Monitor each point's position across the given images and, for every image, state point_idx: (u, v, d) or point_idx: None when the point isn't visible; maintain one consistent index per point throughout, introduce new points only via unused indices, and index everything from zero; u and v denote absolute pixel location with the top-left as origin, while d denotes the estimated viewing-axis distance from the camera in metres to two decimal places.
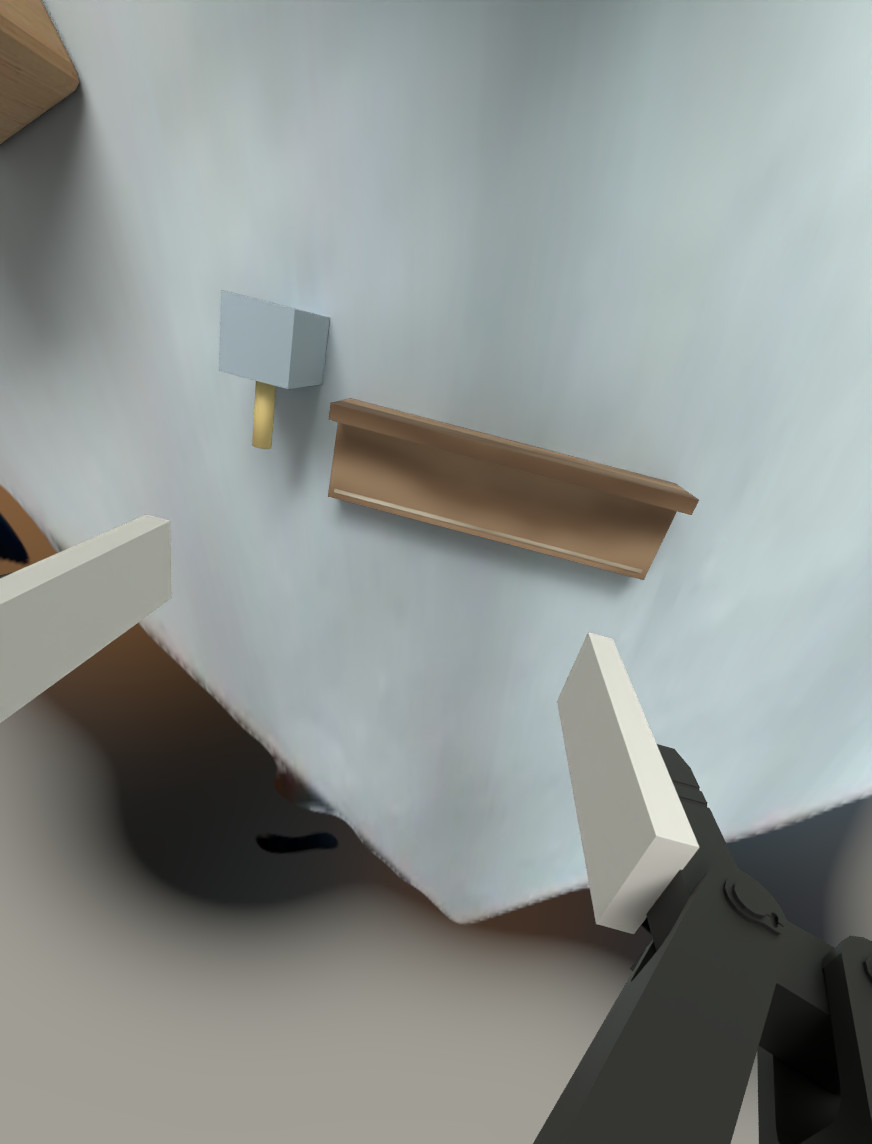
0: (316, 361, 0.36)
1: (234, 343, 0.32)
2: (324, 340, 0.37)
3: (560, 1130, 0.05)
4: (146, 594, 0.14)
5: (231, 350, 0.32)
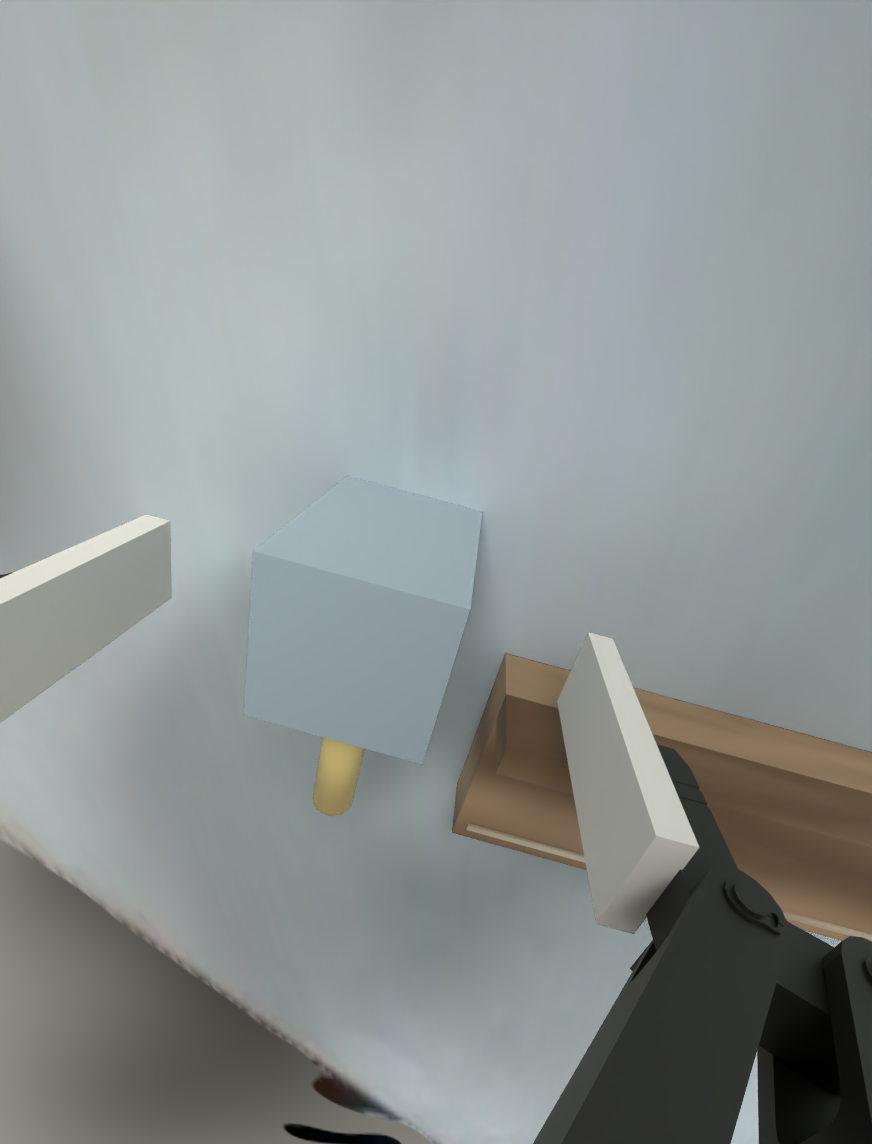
0: None
1: (286, 667, 0.12)
2: None
3: (560, 1130, 0.05)
4: (146, 594, 0.14)
5: (276, 680, 0.12)
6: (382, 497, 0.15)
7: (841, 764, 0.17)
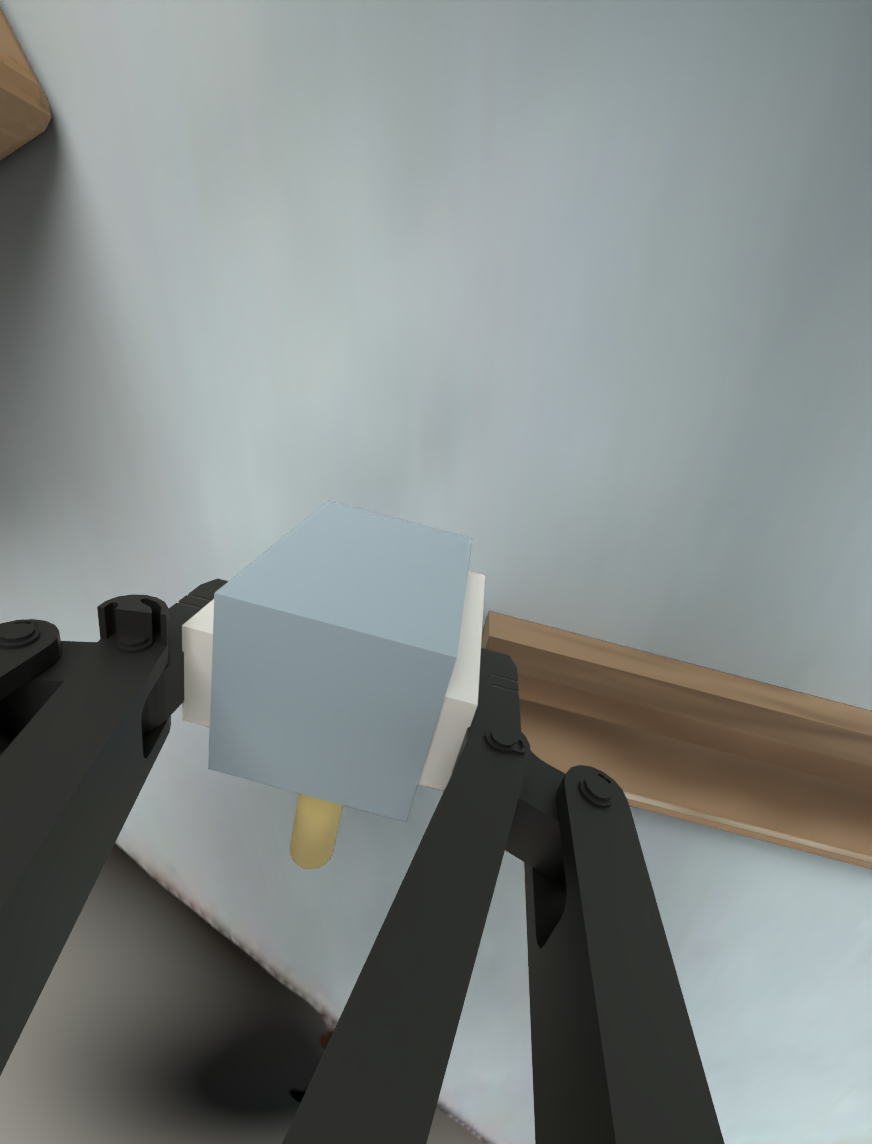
0: None
1: (254, 718, 0.11)
2: None
3: None
4: None
5: (244, 731, 0.11)
6: (365, 524, 0.14)
7: (743, 689, 0.23)
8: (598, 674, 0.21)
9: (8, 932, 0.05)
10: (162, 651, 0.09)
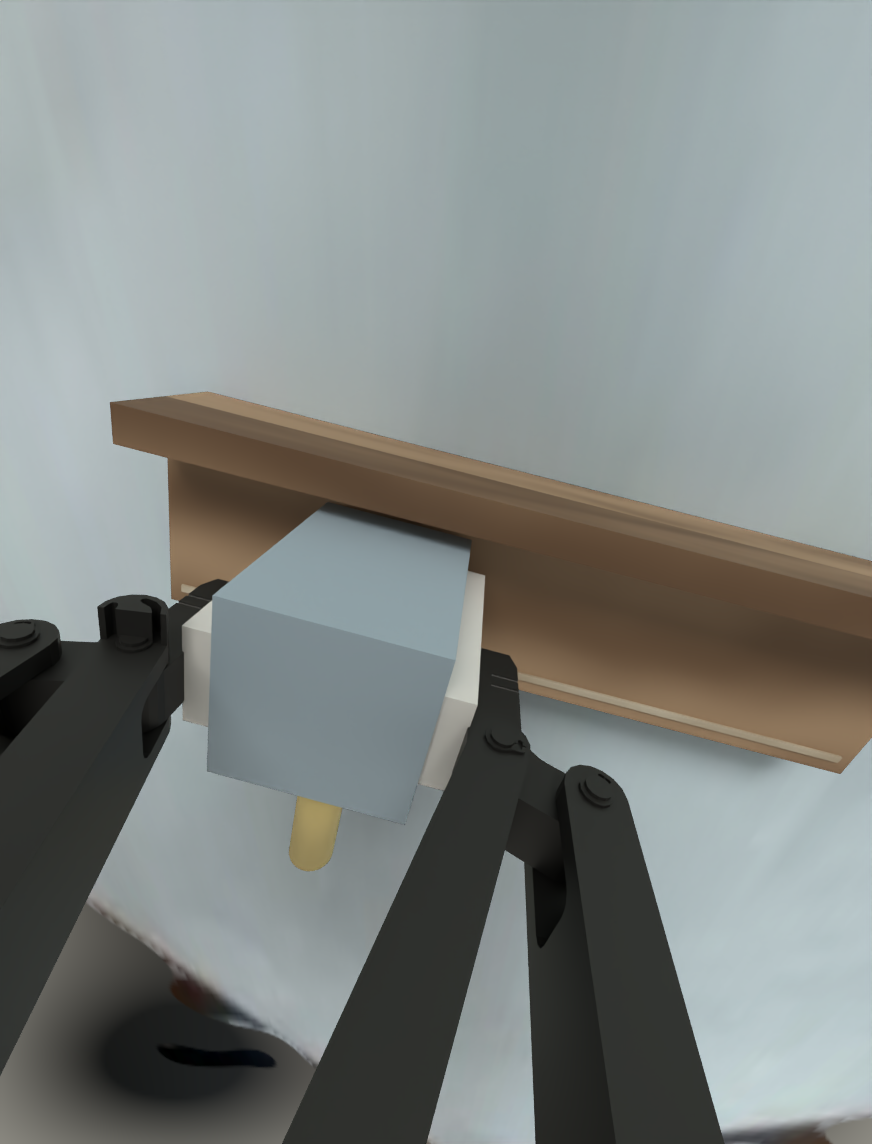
0: None
1: (253, 720, 0.10)
2: None
3: None
4: None
5: (243, 734, 0.11)
6: (364, 526, 0.14)
7: (539, 484, 0.17)
8: (302, 437, 0.15)
9: (8, 931, 0.05)
10: (162, 651, 0.09)
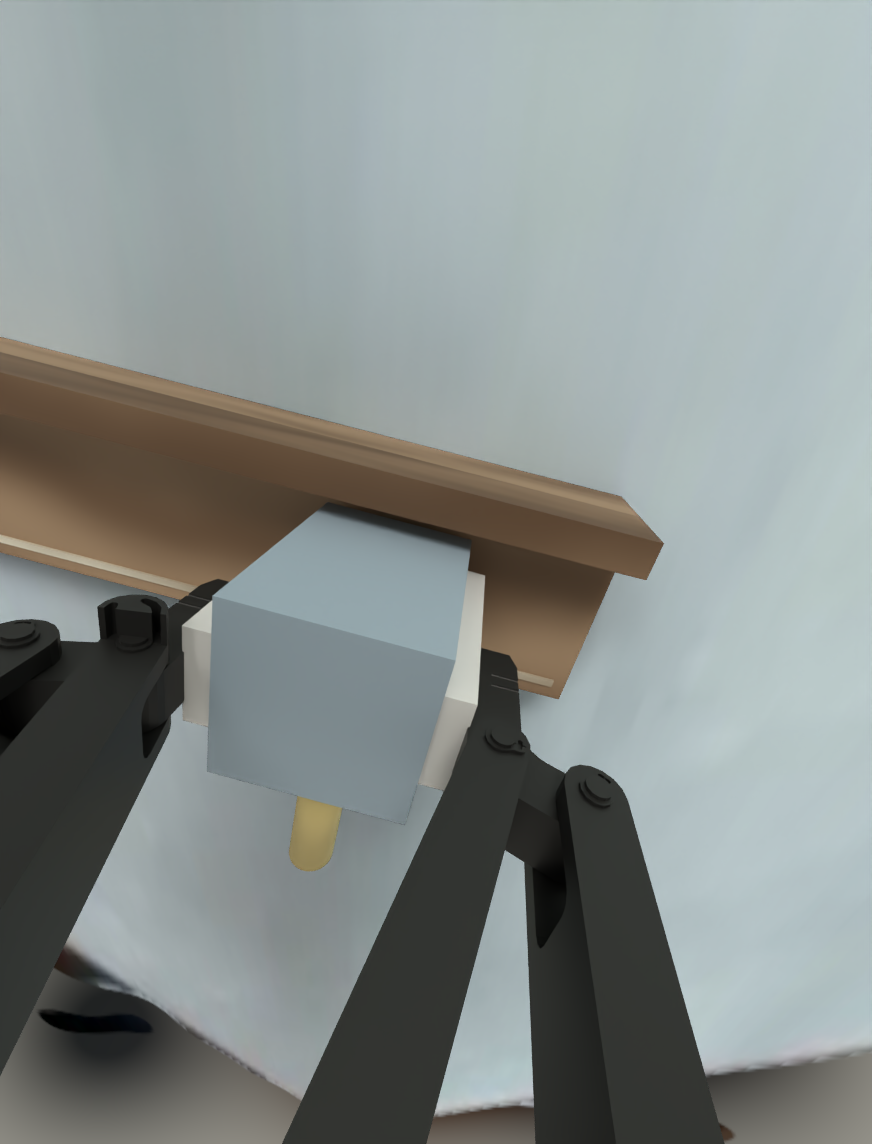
0: None
1: (253, 721, 0.10)
2: None
3: None
4: None
5: (243, 734, 0.11)
6: (364, 526, 0.14)
7: (225, 402, 0.17)
8: None
9: (9, 932, 0.05)
10: (162, 651, 0.09)
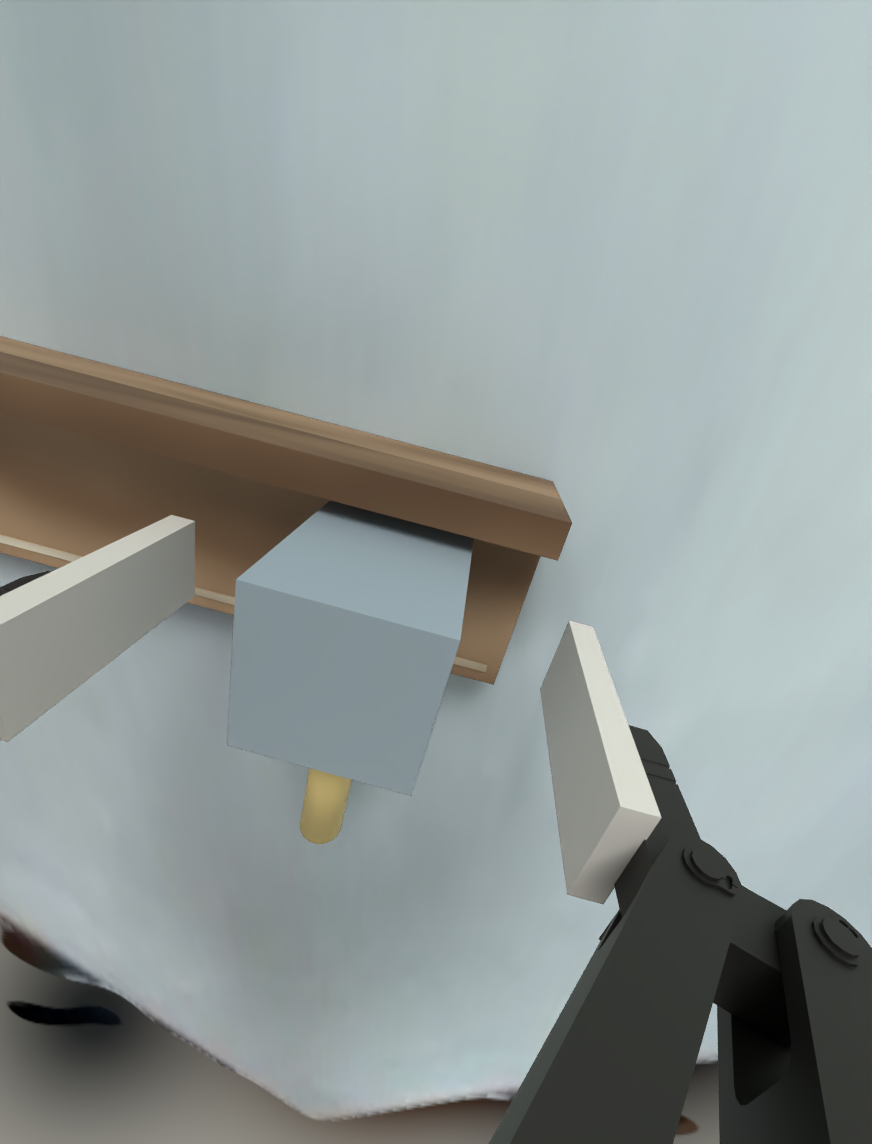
0: None
1: (271, 697, 0.11)
2: None
3: (529, 1094, 0.05)
4: (172, 592, 0.14)
5: (261, 710, 0.11)
6: (372, 517, 0.15)
7: (153, 384, 0.17)
8: None
9: None
10: None
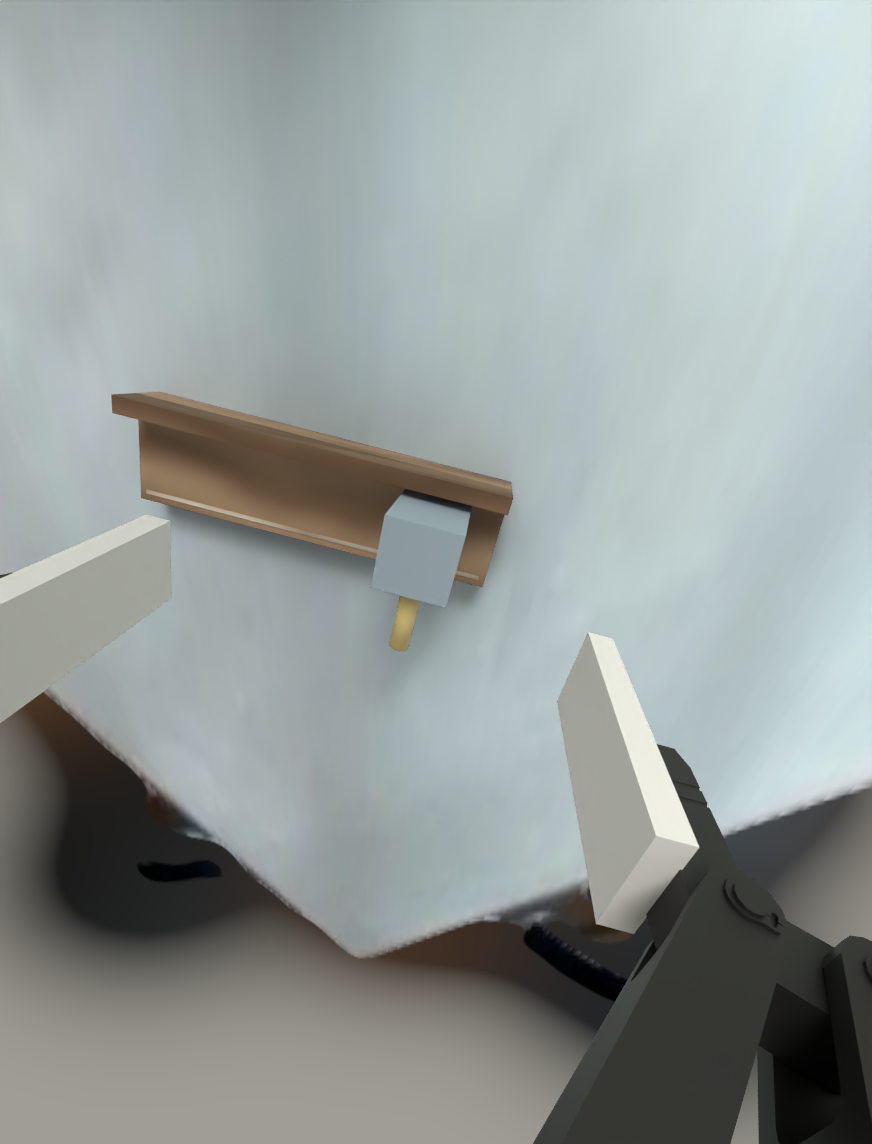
0: None
1: (391, 563, 0.29)
2: None
3: (560, 1130, 0.05)
4: (146, 594, 0.14)
5: (387, 570, 0.29)
6: (424, 498, 0.33)
7: (316, 435, 0.35)
8: (197, 411, 0.33)
9: None
10: None
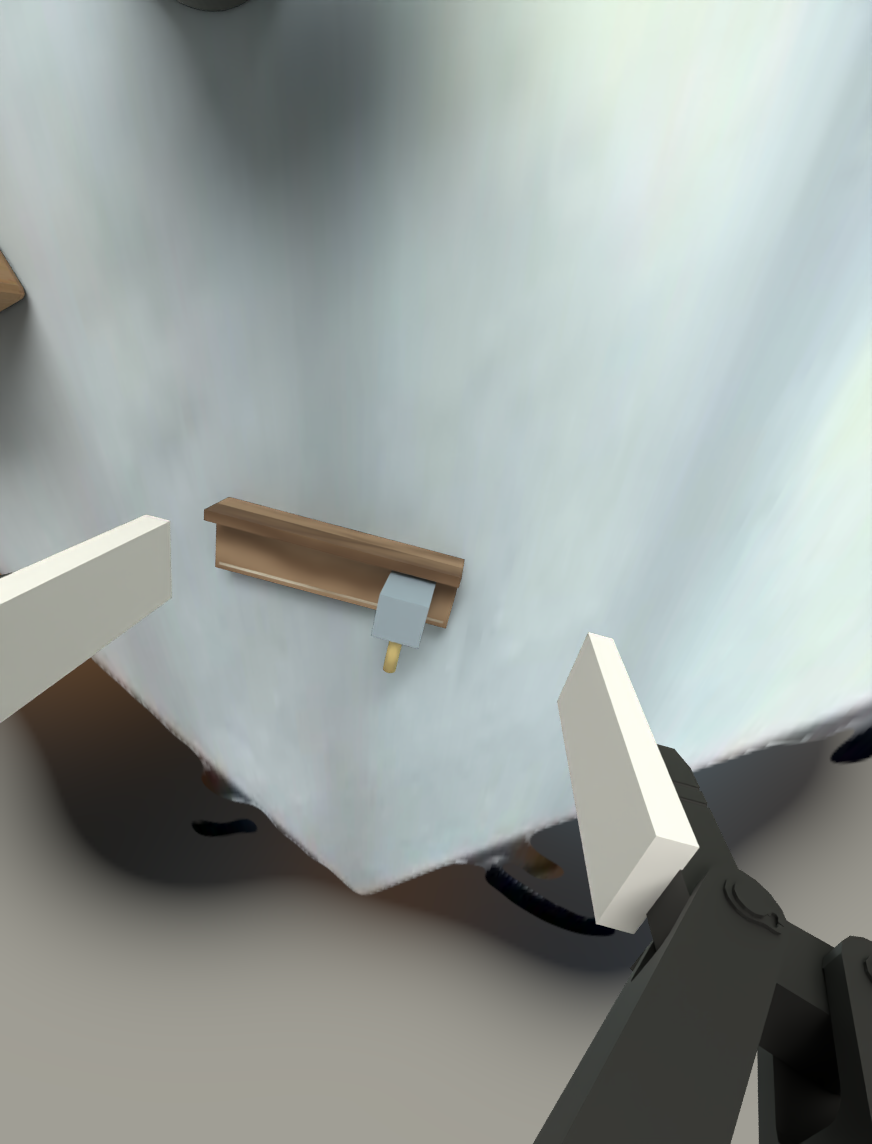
0: None
1: (384, 622, 0.47)
2: None
3: (560, 1130, 0.05)
4: (146, 594, 0.14)
5: (381, 625, 0.47)
6: (406, 574, 0.51)
7: (334, 529, 0.52)
8: (258, 517, 0.50)
9: None
10: None
